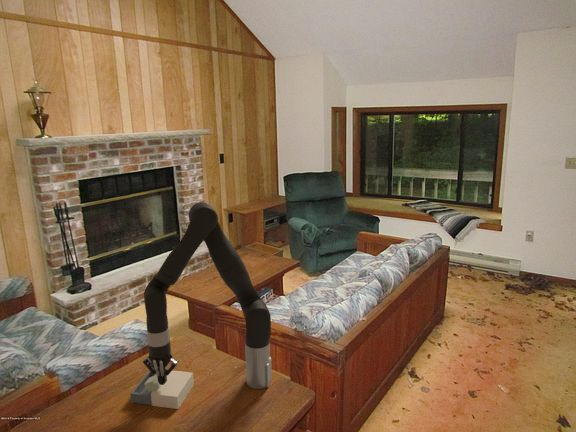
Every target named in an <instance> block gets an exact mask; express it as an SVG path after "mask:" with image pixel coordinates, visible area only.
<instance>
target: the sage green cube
mask: <svg viewBox="0 0 576 432" xmlns="http://www.w3.org/2000/svg"><path fill="white" fill-rule="evenodd" d="M144 386H145V387H146V389H147V391H148V392H151V391H154V390H157V389H158V388H159V386H160V384H159V383H158V377H157V375H155V376H152V377H150V378H149V379H148V380H147V381H146V382H145V384H144Z"/></svg>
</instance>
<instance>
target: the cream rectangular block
mask: <svg viewBox="0 0 576 432" xmlns="http://www.w3.org/2000/svg"><path fill="white" fill-rule="evenodd" d="M194 379H195V378H194V372H189V371H180V370H174V369H173V370H172V371H171V372H170V374H169V375H167V381H166V383H165V384H164V385H160V386H159V388H158V389H157V390H154V391H152V393H151V401H152V406H153V407H159V408H166V409H174V410H179V408H181V405H182V404H183V402H184V401H185V399H186V397H187V396H188V395H189V393H190V391H191V389H192V388H193V387H194V384H195V381H194Z"/></svg>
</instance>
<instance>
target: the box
mask: <svg viewBox="0 0 576 432" xmlns="http://www.w3.org/2000/svg"><path fill="white" fill-rule="evenodd" d="M148 370H149V369H148ZM154 375H155V373H154V374H152V373H151V371H150V370H149V371H147V373H146V374H145V375H144V376H143V378H142V379H140V381H139V382H138V383H137V385H136V386H135V387H134V388H133V389H132V391H131V392H130V402H131V404H136V405H137V404H138V405H144V406H152V401H151V393H152V391H151V392H148V391H147V389H146V387H145V386H144V384H145V382H146V381H147V380H148V379H149V378H150V377H152V376H154Z"/></svg>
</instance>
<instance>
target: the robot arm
mask: <svg viewBox="0 0 576 432" xmlns="http://www.w3.org/2000/svg"><path fill="white" fill-rule="evenodd" d="M188 220H189V223H188V226H187V228H186V231H185V232H184V234H183V236H182V238H181V239H180V241H179V242H178V243H177V244H176V246H175V247H174V248H173V249H172V250H171V251H170V252H169V254H168V255H167V257H166V258H165V260H164V262H163V263H162V264H161V266H160V268H159V270H158V271H157V273H156V274H155V275H154V277H152V279H150V281H149V282H148V284H147V285H146V286H145V289H144V291H143V300H144V307H145V308H144V309H145V313H146V314H145V315H146V318H145V319H146V330H147V331H146V341H147V351H148V356H146V358H145V359H144V360H143V361H142V363H143V364H144V366H145V367H146V368H147V369H148V370H150V371H151V373H152V374H154V373H155V374H156V375H157V377H158V383H159V384H160V385H164V384H165V383H166V381H167V375H169V374H170V372H171V371H172V370H173V371H174V369H175V368H176V366H177V365H178V364H179V360H177V359H174V358H173V355H172V353H171V352H172V347H171V346H172V345H171V334H170V333H171V332H170V329H169V320H168V313H167V312H168V305H167V304H168V303H167V300H168V299H167V291H168V290H169V288H170V287H171V286H174V285H175V284H176V283H177V281H178V280H179V278H180V277H181V275H182V273H183V272H184V270H185V268H187V265H188V263H189V262H190V260H191V258H192V257H193V256H194V255H195V252H196V251H197V250H198V248H199V247H200V246H201V244H203V242H204V244H205V245H206V248H207V250H208V252H209V255H210V257H211V260H212V262H213V265H214V266H215V268H216V271H217V272H218V274H219V275H220V278H221V279H222V281H223V282H224V284H225V285H226V286H227V287H228V288H229V290H231V292H232V293H233V294H234V296H236V297H235V298H236V299H237V301H238V303H239V306H240V308H241V311H242V314H243V316H244V320H245V336H244V344H245V346H244V350H245V372H246V373H245V374H246V377H245V379H246V384H247V386H248V387H249V388H250V389H254V390H261V389H265V388H269V387H270V384H271V382H272V375H273V374H272V371H273V370H272V357H271V351H270V344H271V343H270V340H271V333H272V332H271V331H272V329H271V328H272V325H271V324H272V318H271V312H270V311H269V308H268V306H267V304H266V303H265V301H264V300H263V298H262V297H261V296H260V295H259V294H258V291H257V290H256V288H255V287H254V285H253V283H252V281H251V277H250V275H249V272H248V270H247V267H246V265H245V264H244V262H243V260H242V258H241V256H240V254H239V253H238V251H237V250H236V249H235V247H234V245H233V244H232V242H231V241H230V240H229V239H228V237H227V236H226V234H225V233H224V231H223V229H222V227H221V225H220V222H219V216H218V213H217V211H216V210H215V208H214V207H213V206H212V205H211V204H209V203H207V202H202V201H201V202H200V201H199V202H196V203H194V204H193V205H192V206H191V207H190V209H189V210H188ZM168 365H169V366H170V367H169V368H168Z"/></svg>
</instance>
